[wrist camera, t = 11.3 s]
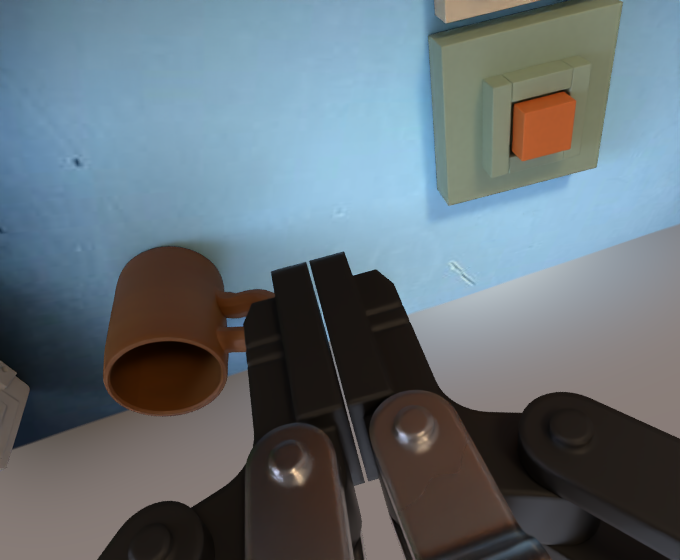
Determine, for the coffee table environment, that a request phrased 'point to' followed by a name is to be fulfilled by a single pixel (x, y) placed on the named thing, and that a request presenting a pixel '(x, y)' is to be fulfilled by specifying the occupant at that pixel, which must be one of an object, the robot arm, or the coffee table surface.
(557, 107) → the key
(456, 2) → the beige push button
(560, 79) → the green stepped square block
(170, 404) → the mug
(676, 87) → the coffee table surface
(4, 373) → the cassette
